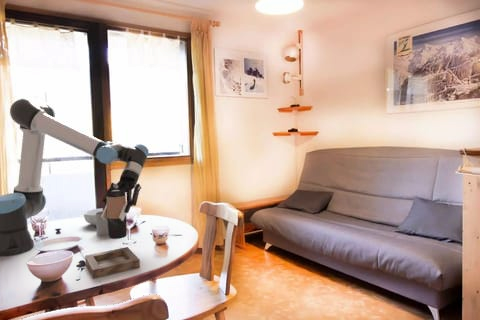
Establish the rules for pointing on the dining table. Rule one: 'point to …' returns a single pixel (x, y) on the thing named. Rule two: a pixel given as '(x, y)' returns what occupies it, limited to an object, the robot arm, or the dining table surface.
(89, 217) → the cereal bowl
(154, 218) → the dining table surface
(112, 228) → the travel mug
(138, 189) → the robot arm
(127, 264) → the walnut collar
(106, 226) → the cup
